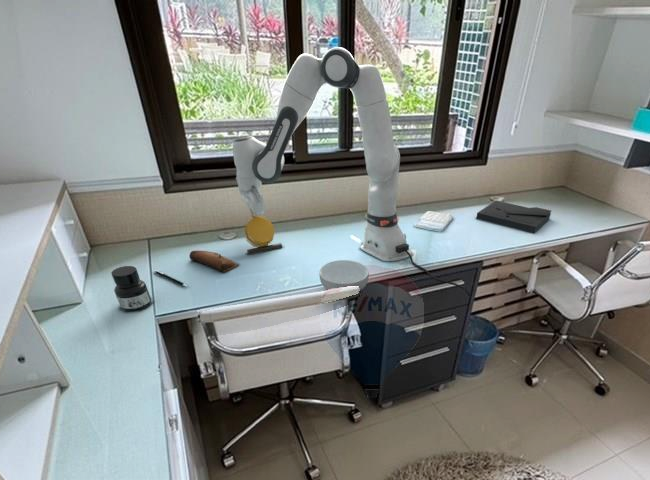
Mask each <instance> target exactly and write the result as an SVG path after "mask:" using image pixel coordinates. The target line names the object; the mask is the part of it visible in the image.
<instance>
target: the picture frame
mask: <svg viewBox="0 0 650 480" xmlns="http://www.w3.org/2000/svg"><path fill="white" fill-rule="evenodd" d="M551 215H552V210H551V209H547V208H542V207H537V206H535V207H534V206H533V207H527V206H523V205H518V204H513V203H509V202H504V201H500V200H494V201H493V202H492V203H490V204H488V205H487V206H485V207H484V208H482V209H481V210H479V211H477V213H476V218H475V219H476V220H479V221H484V222H487V223H491V224H495V225H498V226H504V227H507V228H511V229H514V230H520V231H523V232H527V233H531V234H535V233H536V232H537V231H538V230H539V229H541V227H542V226H543V225H544V224H545V223H547V222H548V220H550V219H551Z"/></svg>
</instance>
